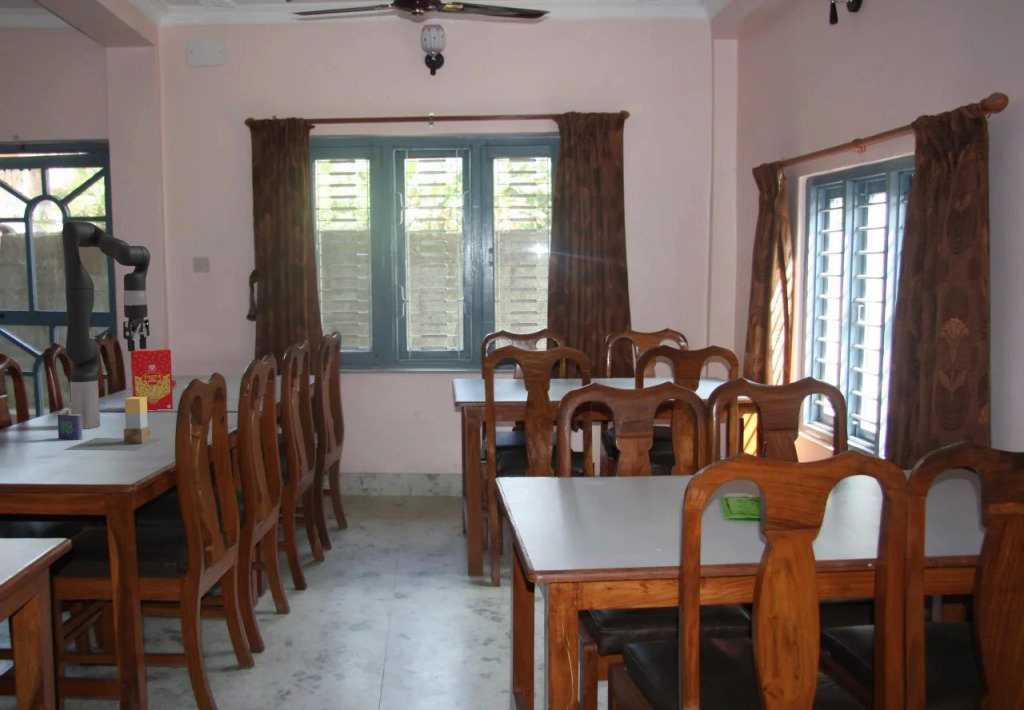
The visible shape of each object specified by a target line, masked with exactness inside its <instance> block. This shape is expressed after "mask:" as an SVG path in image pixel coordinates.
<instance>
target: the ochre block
mask: <svg viewBox="0 0 1024 710" xmlns="http://www.w3.org/2000/svg"><path fill="white" fill-rule="evenodd" d="M124 410H125V411H124V412H125V413H124V415H125V414H142V413H145V412H147V397H132V396H130V397H127V398H124ZM147 413H148V412H147Z"/></svg>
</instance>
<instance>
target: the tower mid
mask: <svg viewBox="0 0 1024 710" xmlns="http://www.w3.org/2000/svg"><path fill="white" fill-rule="evenodd" d="M124 415H125V416H124V417H125V428H126V429H142V428H145V427H147V426H149V424H148V412H145V413H142V414H125V413H124Z"/></svg>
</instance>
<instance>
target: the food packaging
mask: <svg viewBox="0 0 1024 710" xmlns="http://www.w3.org/2000/svg"><path fill="white" fill-rule="evenodd" d="M130 367H131V369H130V370H131V390H132V391H131V394H132V396H131V397H147V410H158V409H173V410H174V403H173V402H174V401H173V398H174V397H173V370H172V350H171V349H169V348H163V349H140V350H139V349H138V350H135V351H130Z"/></svg>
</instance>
